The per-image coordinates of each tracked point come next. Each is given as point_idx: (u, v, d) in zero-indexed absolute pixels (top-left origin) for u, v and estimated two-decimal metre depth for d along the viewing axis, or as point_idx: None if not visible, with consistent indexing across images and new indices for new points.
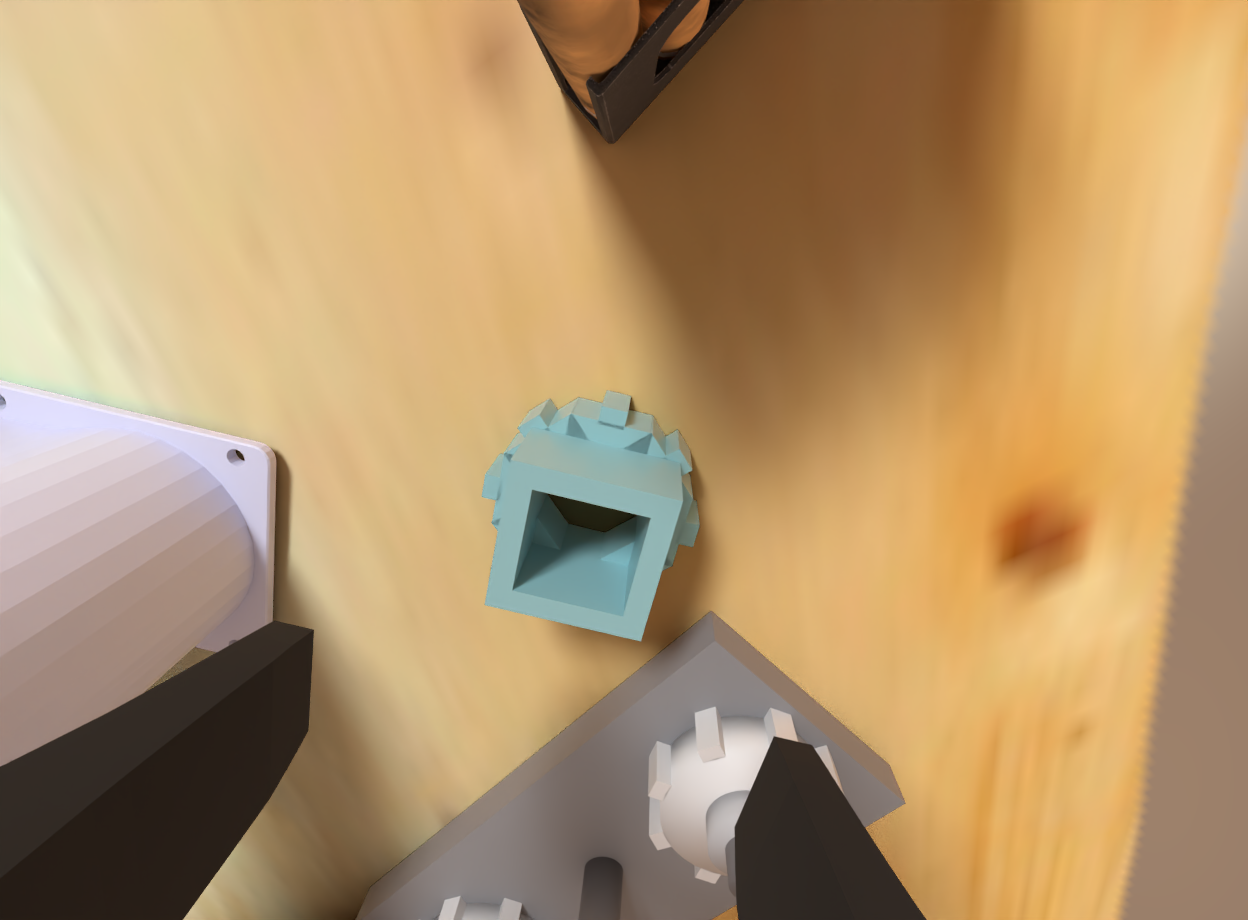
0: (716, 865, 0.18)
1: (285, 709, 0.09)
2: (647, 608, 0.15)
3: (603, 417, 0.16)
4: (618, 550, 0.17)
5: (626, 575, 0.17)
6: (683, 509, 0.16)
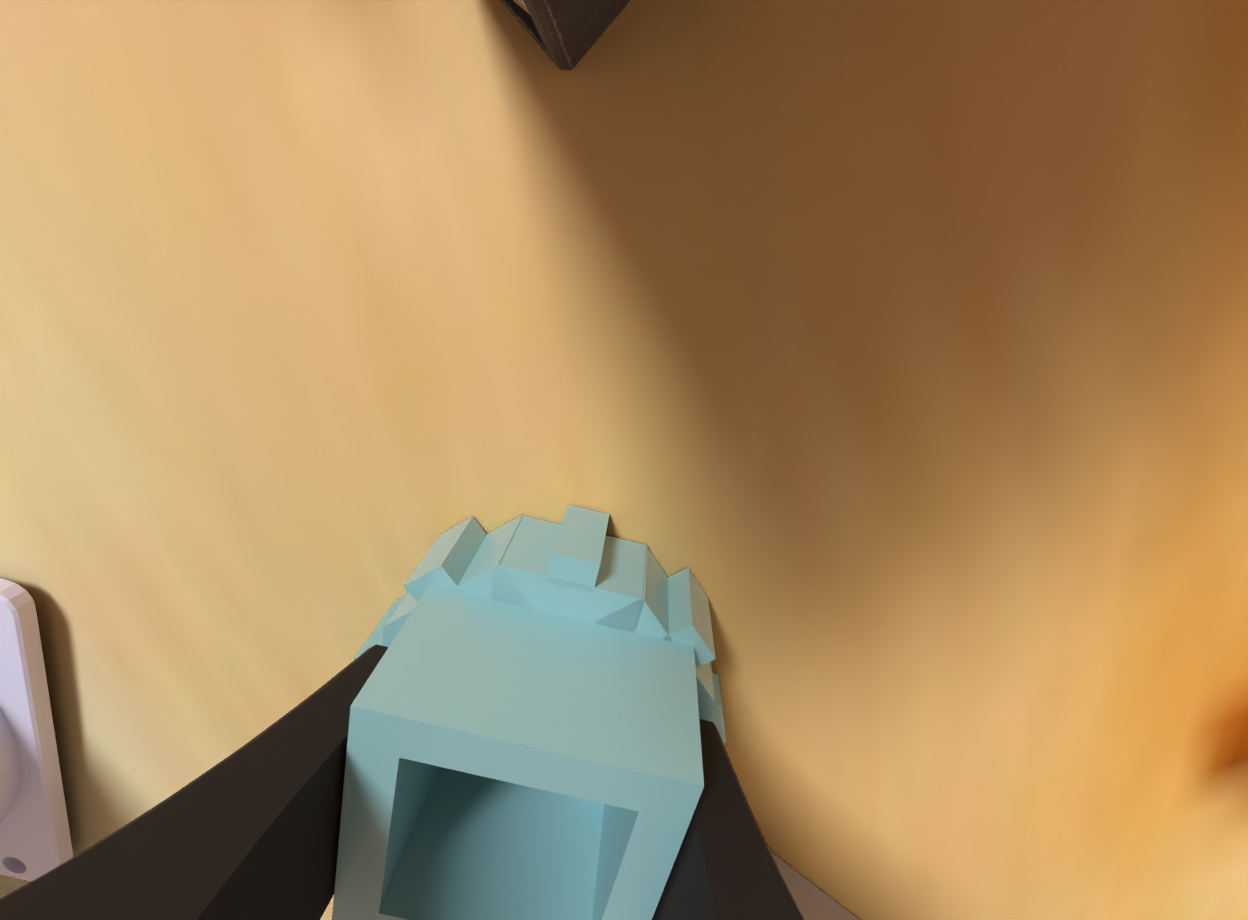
0: None
1: None
2: None
3: (555, 572, 0.09)
4: None
5: (600, 827, 0.10)
6: (698, 718, 0.09)
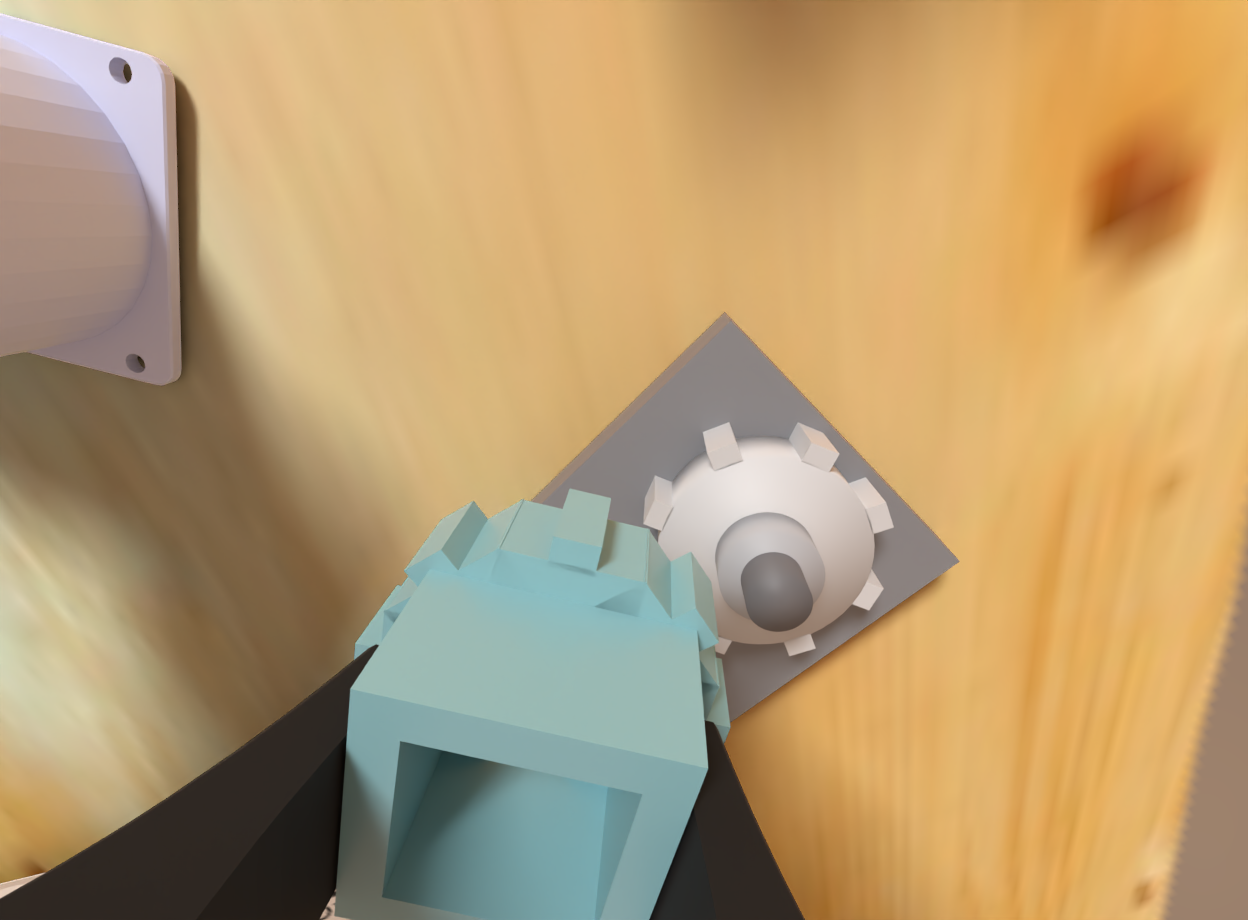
0: (729, 602, 0.14)
1: None
2: None
3: (557, 555, 0.09)
4: None
5: (603, 812, 0.10)
6: (702, 703, 0.09)
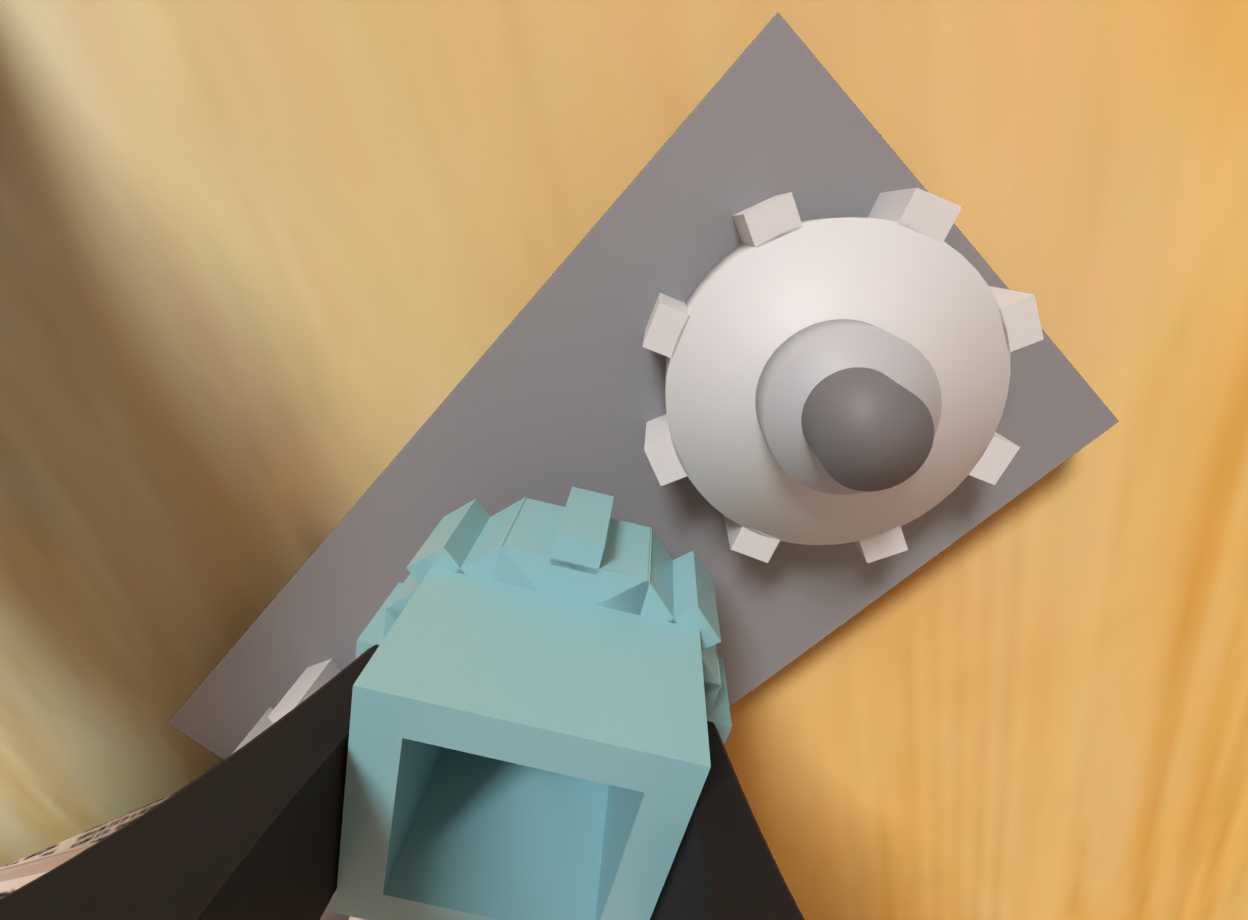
0: (781, 461, 0.09)
1: None
2: None
3: (559, 553, 0.09)
4: None
5: (604, 810, 0.10)
6: None
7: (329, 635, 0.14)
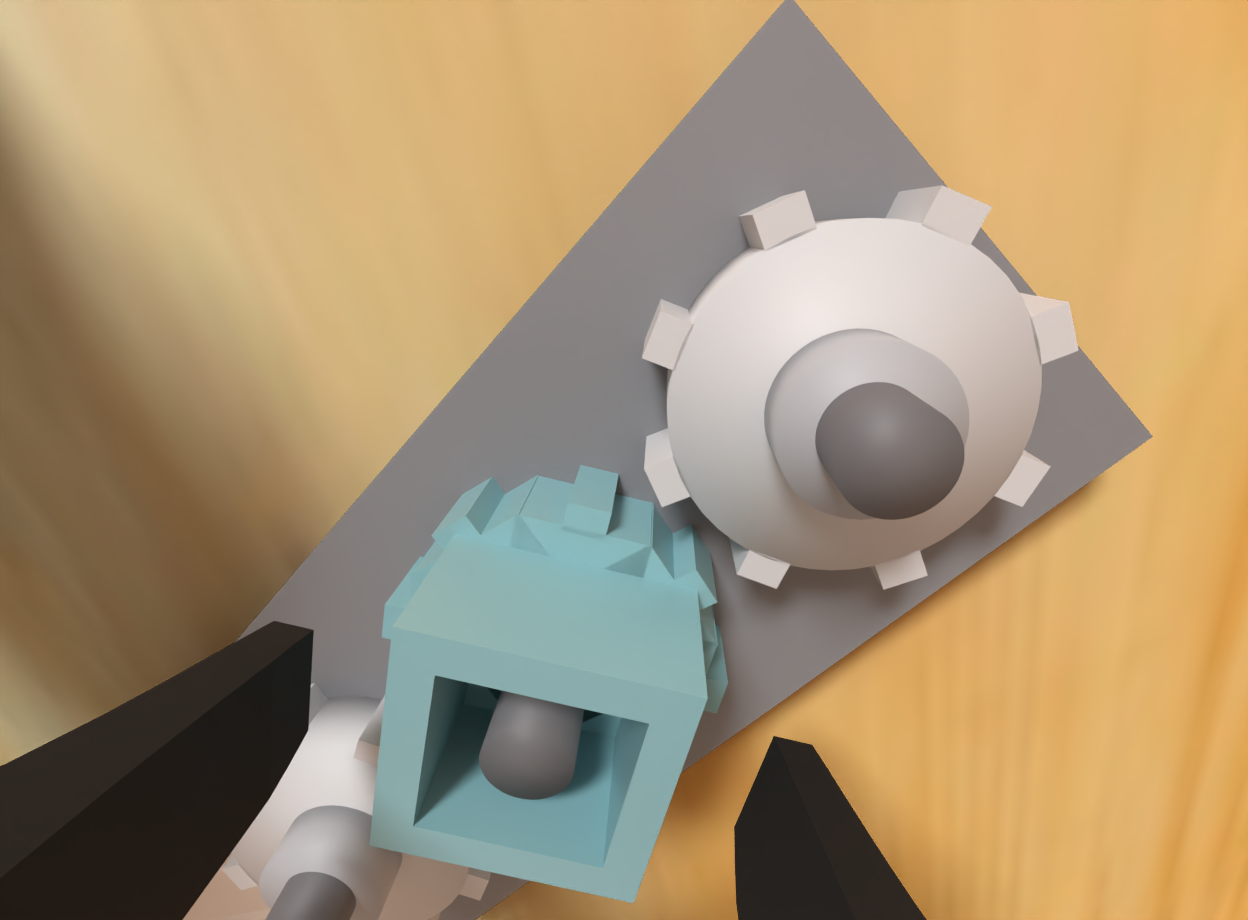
0: (793, 483, 0.08)
1: (285, 709, 0.09)
2: (644, 858, 0.09)
3: (570, 520, 0.09)
4: (599, 716, 0.11)
5: (611, 761, 0.10)
6: None
7: (312, 659, 0.13)
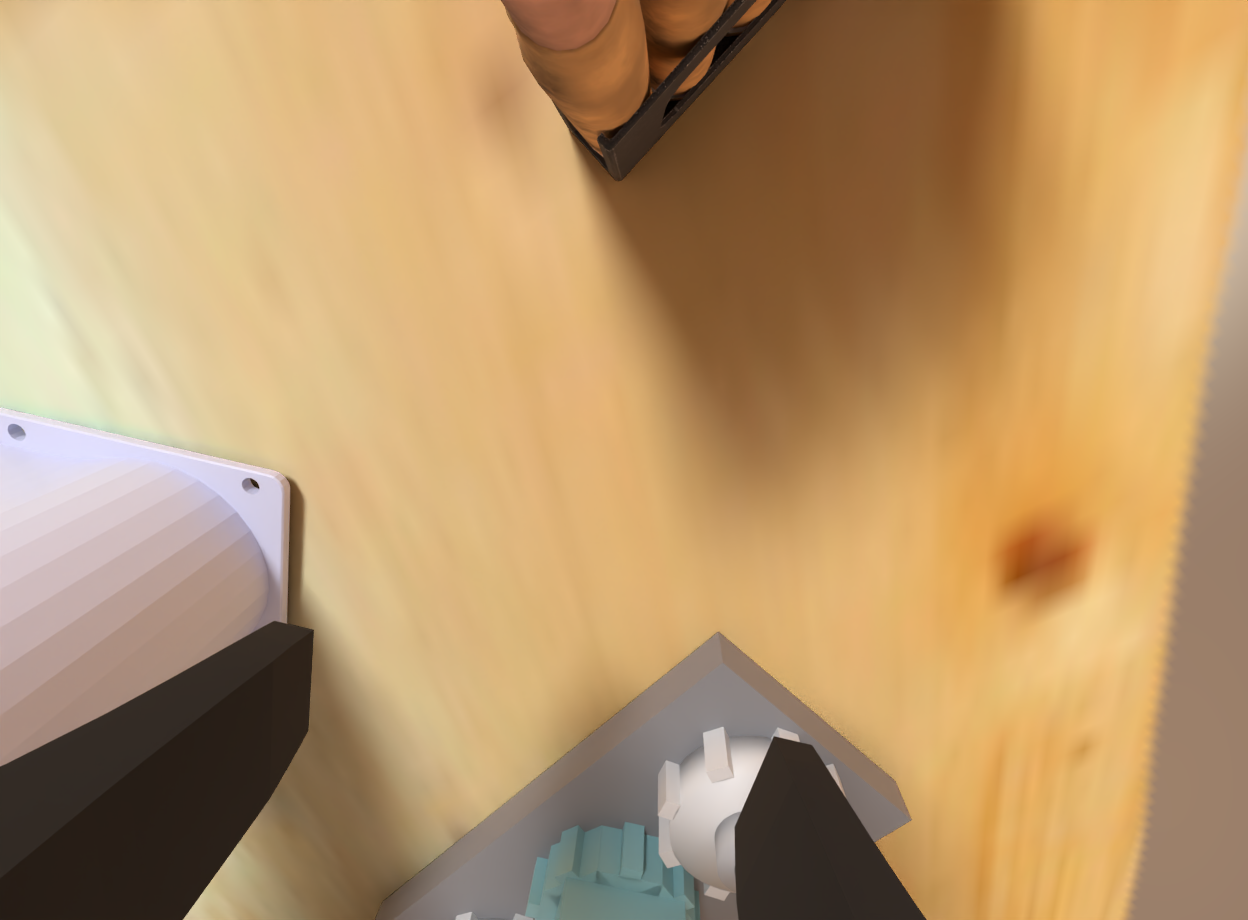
0: (725, 884, 0.18)
1: (285, 709, 0.09)
2: None
3: (623, 874, 0.20)
4: None
5: None
6: None
7: (471, 900, 0.23)
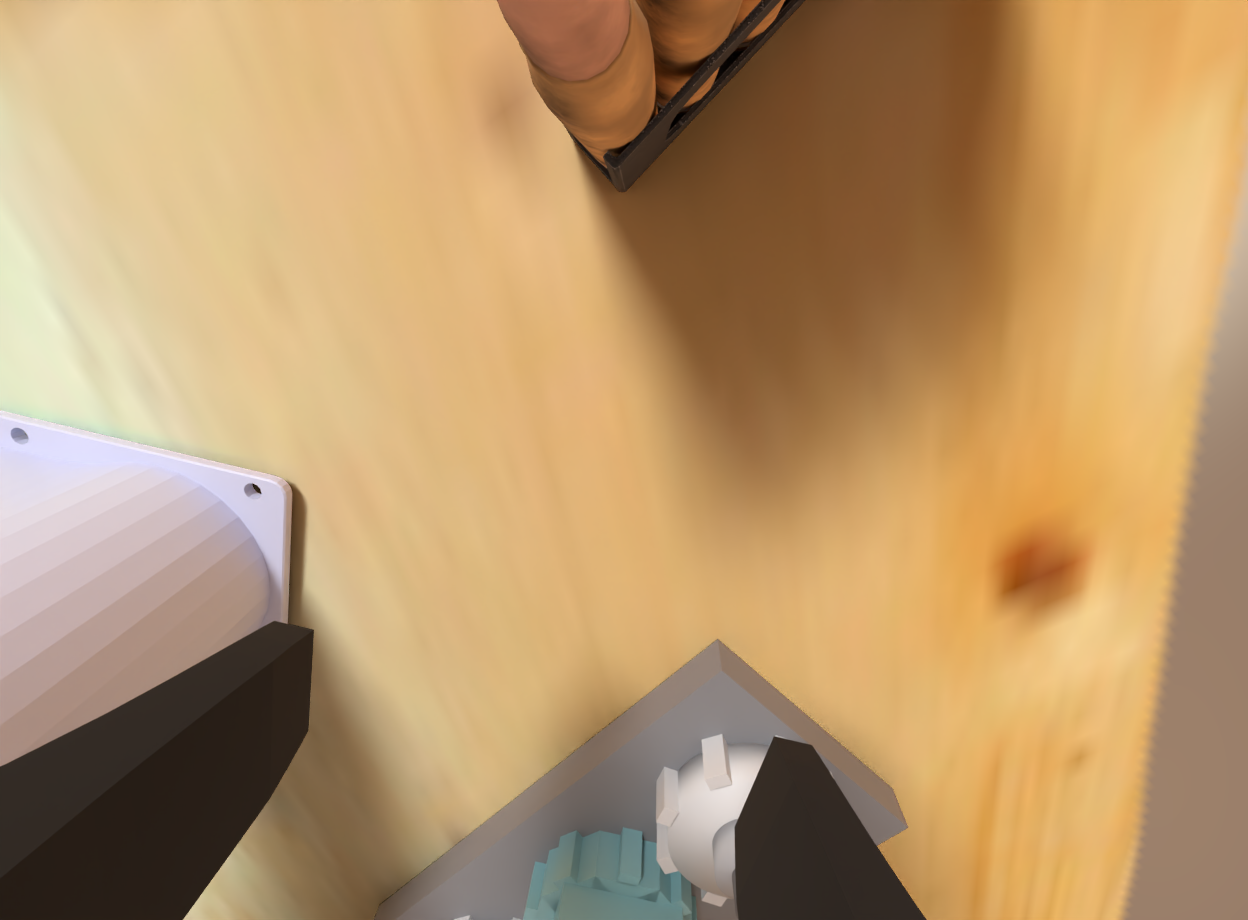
0: (723, 891, 0.18)
1: (285, 709, 0.09)
2: None
3: (621, 879, 0.20)
4: None
5: None
6: None
7: (469, 904, 0.23)
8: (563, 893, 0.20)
